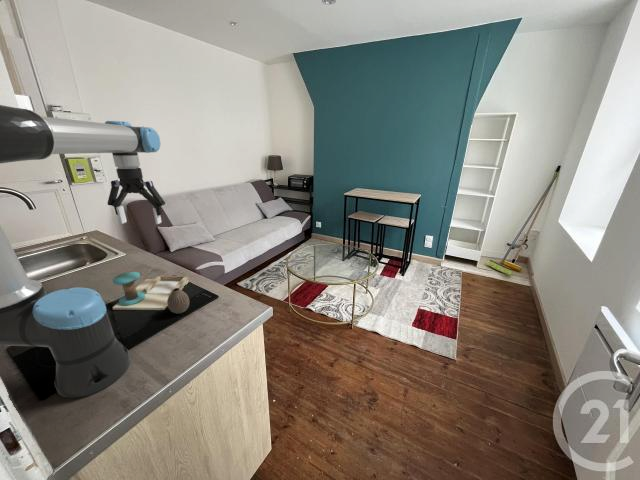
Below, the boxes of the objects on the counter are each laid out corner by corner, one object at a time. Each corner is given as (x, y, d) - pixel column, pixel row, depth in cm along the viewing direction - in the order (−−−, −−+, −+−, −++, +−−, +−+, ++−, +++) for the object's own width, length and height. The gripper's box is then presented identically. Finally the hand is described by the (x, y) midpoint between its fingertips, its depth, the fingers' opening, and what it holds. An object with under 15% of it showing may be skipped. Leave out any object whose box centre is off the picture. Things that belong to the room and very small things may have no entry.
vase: (175, 319, 90) (170, 297, 87) (165, 311, 94) (160, 290, 91) (194, 309, 95) (190, 288, 92) (184, 302, 99) (180, 282, 96)
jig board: (163, 310, 95) (157, 284, 91) (113, 309, 94) (104, 284, 90) (188, 281, 113) (184, 259, 109) (146, 281, 113) (141, 259, 109)
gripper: (168, 167, 100) (178, 220, 107) (101, 165, 99) (115, 219, 106) (157, 169, 93) (168, 226, 100) (85, 167, 92) (101, 225, 99)
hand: (141, 223), depth 103 cm, fingers open, 13 cm apart
